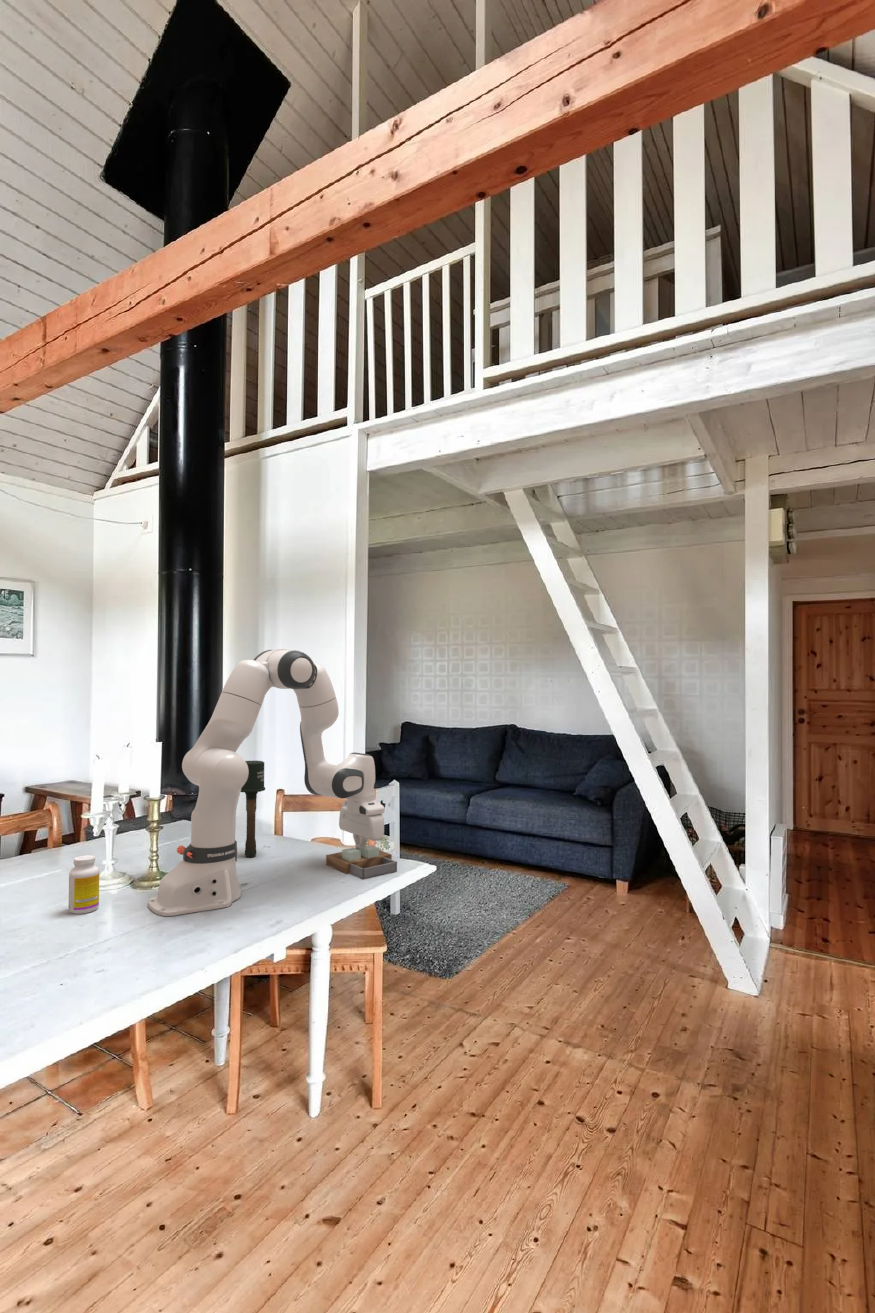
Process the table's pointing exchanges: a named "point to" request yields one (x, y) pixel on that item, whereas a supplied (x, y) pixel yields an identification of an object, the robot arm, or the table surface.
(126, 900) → the table surface
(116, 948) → the table surface
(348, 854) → the tile
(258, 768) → the potato masher grenade
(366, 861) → the board
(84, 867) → the supplement bottle
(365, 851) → the tile
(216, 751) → the robot arm
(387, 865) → the tray
